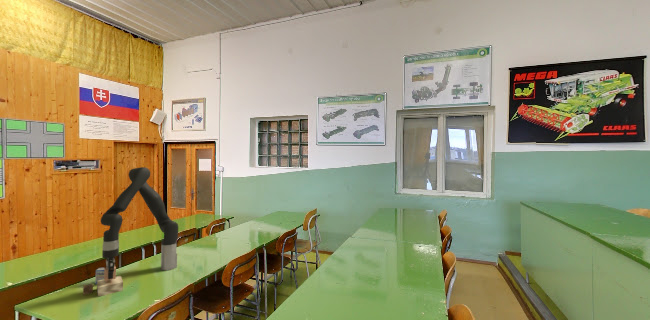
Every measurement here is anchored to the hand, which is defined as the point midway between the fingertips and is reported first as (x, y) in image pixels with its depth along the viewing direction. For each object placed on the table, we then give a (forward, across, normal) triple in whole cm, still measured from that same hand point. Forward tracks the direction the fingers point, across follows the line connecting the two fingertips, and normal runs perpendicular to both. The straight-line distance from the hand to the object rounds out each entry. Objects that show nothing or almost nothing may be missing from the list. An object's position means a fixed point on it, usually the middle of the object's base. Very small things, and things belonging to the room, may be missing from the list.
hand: (110, 276), depth 157 cm
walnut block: (+8, +4, +9) cm, 13 cm away
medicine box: (+8, +14, +1) cm, 16 cm away
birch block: (+8, 0, 0) cm, 8 cm away
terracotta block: (+1, 0, 0) cm, 1 cm away
